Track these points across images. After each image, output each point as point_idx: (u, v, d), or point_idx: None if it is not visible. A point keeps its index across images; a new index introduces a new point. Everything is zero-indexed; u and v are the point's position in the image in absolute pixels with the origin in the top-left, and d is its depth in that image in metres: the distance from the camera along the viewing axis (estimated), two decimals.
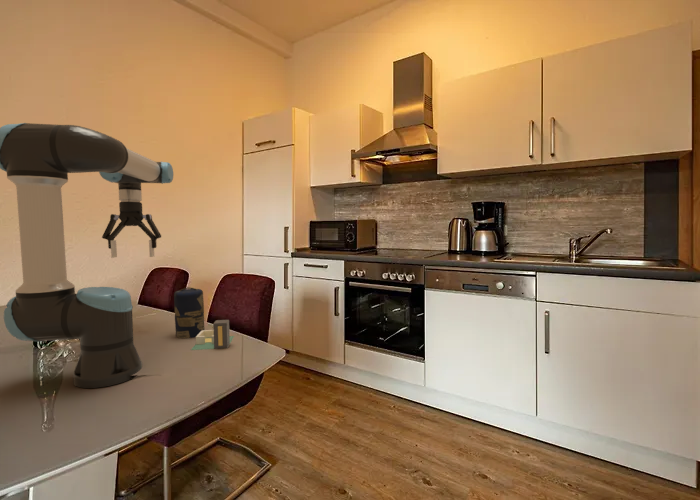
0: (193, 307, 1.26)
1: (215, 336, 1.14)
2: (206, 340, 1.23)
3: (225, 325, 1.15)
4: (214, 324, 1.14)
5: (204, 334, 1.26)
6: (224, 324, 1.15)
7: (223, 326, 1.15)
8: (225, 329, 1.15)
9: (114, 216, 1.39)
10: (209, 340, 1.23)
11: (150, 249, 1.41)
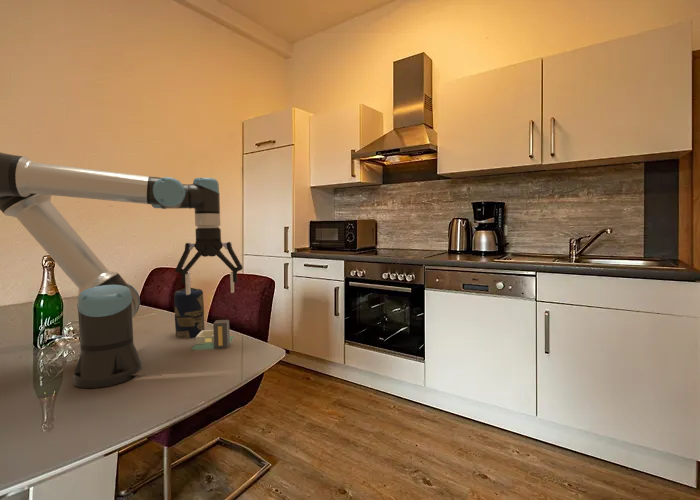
0: (193, 307, 1.26)
1: (215, 336, 1.14)
2: (206, 340, 1.23)
3: (225, 325, 1.15)
4: (214, 324, 1.14)
5: (204, 334, 1.26)
6: (224, 324, 1.15)
7: (223, 326, 1.15)
8: (225, 329, 1.15)
9: (189, 245, 1.16)
10: (209, 340, 1.23)
11: (231, 284, 1.18)
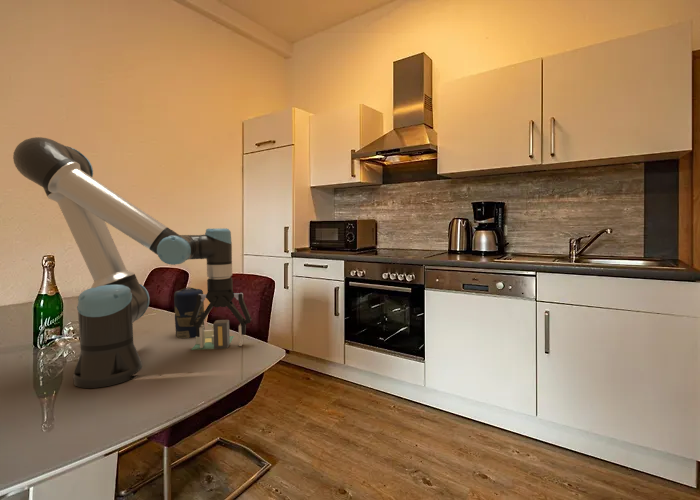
0: (193, 307, 1.26)
1: (215, 336, 1.14)
2: (206, 340, 1.23)
3: (225, 325, 1.15)
4: (214, 324, 1.14)
5: (204, 334, 1.26)
6: (224, 324, 1.15)
7: (223, 326, 1.15)
8: (225, 329, 1.15)
9: (201, 297, 1.14)
10: (209, 340, 1.23)
11: (240, 337, 1.16)
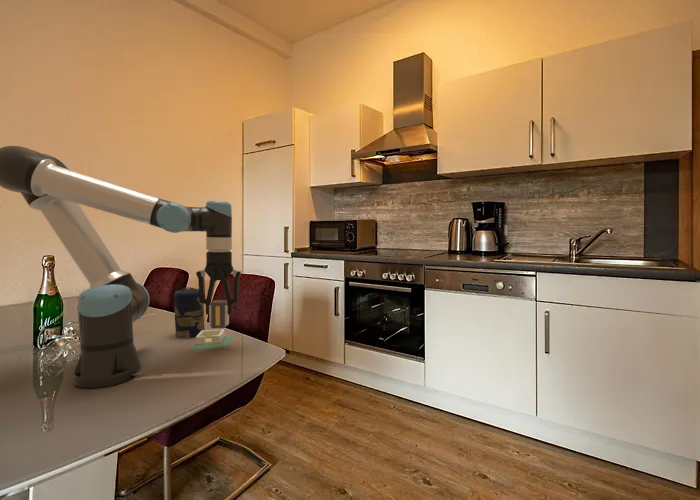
0: (193, 307, 1.26)
1: (212, 315, 1.14)
2: (206, 340, 1.23)
3: (223, 305, 1.14)
4: (212, 303, 1.14)
5: (204, 334, 1.26)
6: (222, 304, 1.14)
7: (221, 306, 1.14)
8: (223, 309, 1.14)
9: (200, 273, 1.14)
10: (209, 340, 1.23)
11: (226, 316, 1.15)
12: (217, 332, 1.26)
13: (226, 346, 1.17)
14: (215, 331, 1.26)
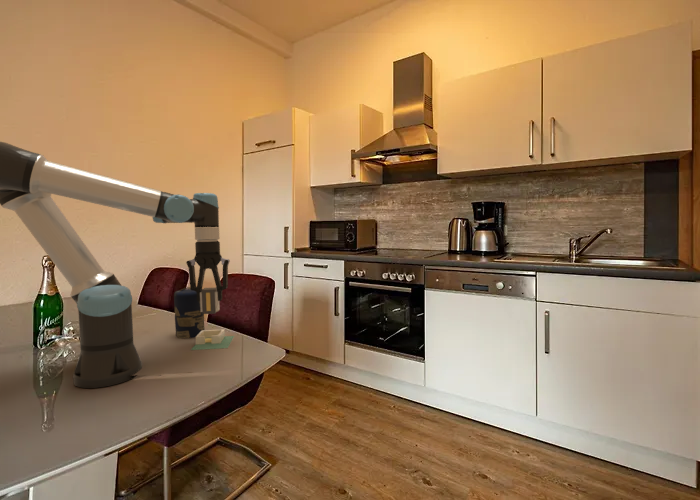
0: (193, 307, 1.26)
1: (203, 302, 1.20)
2: (206, 340, 1.23)
3: (213, 291, 1.20)
4: (202, 290, 1.20)
5: (204, 334, 1.26)
6: (212, 290, 1.20)
7: (211, 292, 1.20)
8: (213, 295, 1.20)
9: (190, 262, 1.20)
10: (209, 340, 1.23)
11: (216, 302, 1.21)
12: (217, 332, 1.26)
13: (226, 346, 1.17)
14: (215, 331, 1.26)
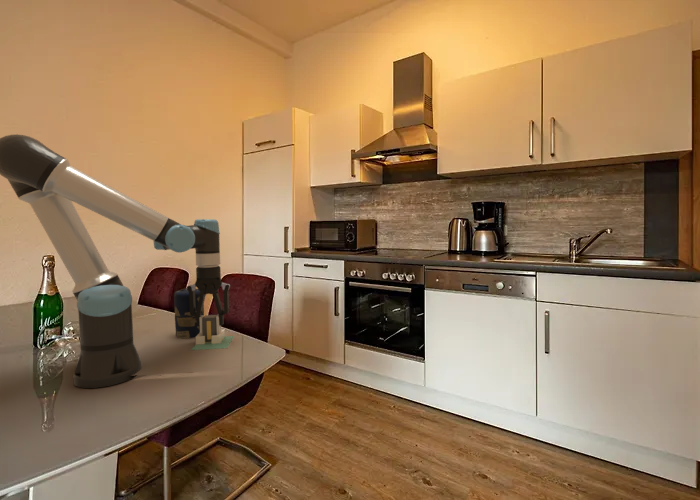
0: None
1: (204, 330, 1.21)
2: None
3: (213, 320, 1.21)
4: (203, 319, 1.20)
5: None
6: (212, 319, 1.21)
7: (212, 321, 1.21)
8: (213, 323, 1.21)
9: (191, 287, 1.20)
10: None
11: (217, 327, 1.22)
12: None
13: (226, 346, 1.17)
14: None
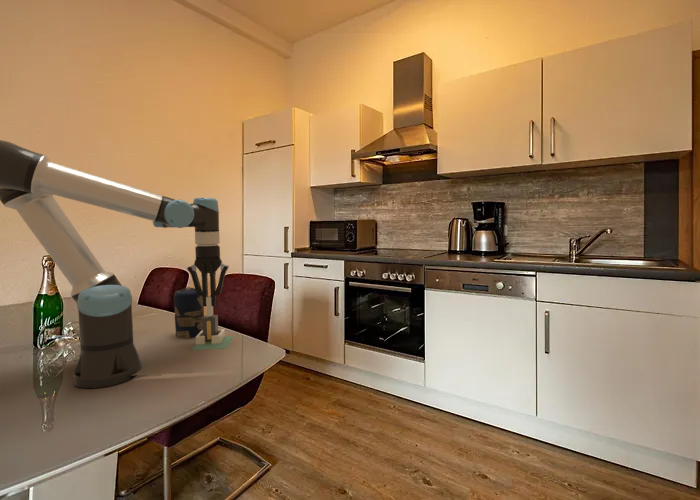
0: (193, 307, 1.26)
1: (204, 330, 1.21)
2: None
3: (213, 320, 1.21)
4: (203, 319, 1.20)
5: None
6: (212, 319, 1.21)
7: (212, 321, 1.21)
8: (213, 323, 1.21)
9: (191, 267, 1.20)
10: None
11: (210, 308, 1.21)
12: None
13: (226, 346, 1.17)
14: None
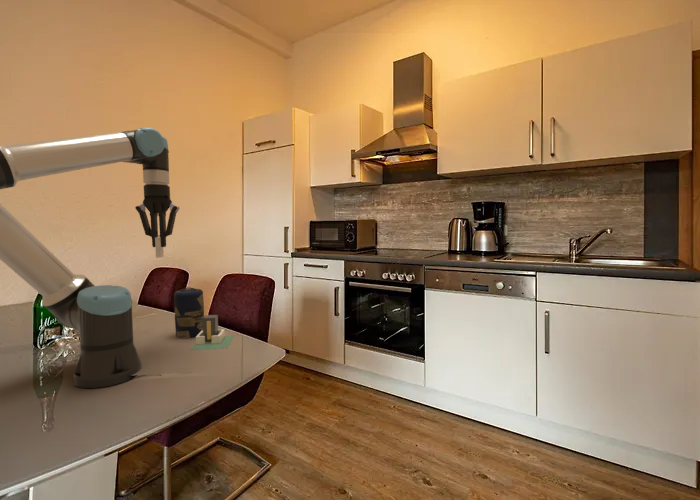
0: (193, 307, 1.26)
1: (204, 330, 1.21)
2: None
3: (213, 320, 1.21)
4: (203, 319, 1.20)
5: None
6: (212, 319, 1.21)
7: (212, 321, 1.21)
8: (213, 323, 1.21)
9: (139, 207, 1.18)
10: None
11: (159, 248, 1.19)
12: None
13: (226, 346, 1.17)
14: None
